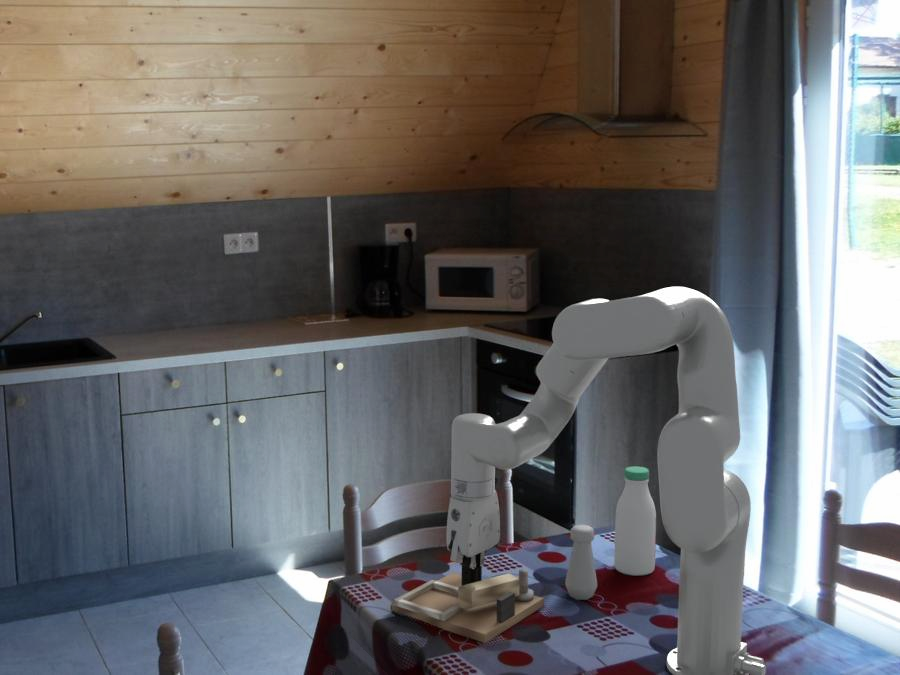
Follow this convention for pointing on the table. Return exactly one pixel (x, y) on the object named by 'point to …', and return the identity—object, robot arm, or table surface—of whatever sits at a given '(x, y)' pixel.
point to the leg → (487, 591)
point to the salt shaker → (581, 564)
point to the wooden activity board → (479, 623)
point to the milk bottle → (635, 525)
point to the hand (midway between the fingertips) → (471, 586)
